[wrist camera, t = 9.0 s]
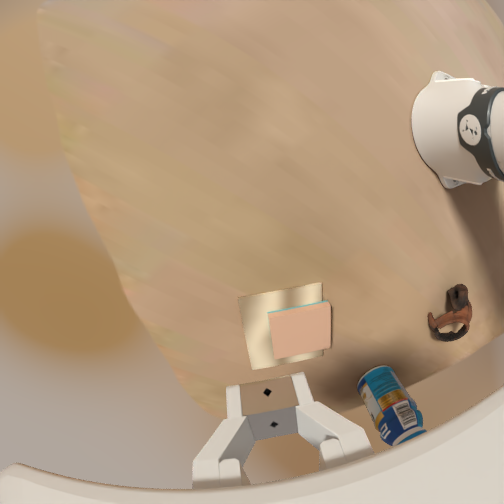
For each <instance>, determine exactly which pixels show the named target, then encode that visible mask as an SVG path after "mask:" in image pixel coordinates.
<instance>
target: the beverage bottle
mask: <svg viewBox="0 0 504 504" xmlns="http://www.w3.org/2000/svg"><path fill="white" fill-rule="evenodd" d="M357 389H358V392H359V394H360V395H361V397H362V399H363V401H364V403H365V406H366V408H367V410H368V412H369V414H370V416H371V418H372V420H373V422H374V426H375V428H376V429H377V430H378V431H379V432H380V436H381V438H382V440H383V441H384V442H385V443H387V444H389V445H391V446H393V447H394V446H396V445H398V444H401V443H403V442H405V441H408V440H410V439H412V438H414V437H416V436H418V435H420V434H422V433H425V432H427V431H426V430H425V429H422V426H423V418H422V414H421V412H420V411H419V410H417V405H416V403H415V401H414V400H413V399H412V398H411V397H410V396H409V394H408V393H407V391H406V390H405V388H404V387H403V385H402V384H401V382H400V381H399V379H398V378H397V376H396V374H395V372H394V371H393V369H392V368H391V367H389V366H386V365H382V366H378V367H375V368H373V369H371V370H369V371H368V372H366V373H365V374H364V375H363V376H362V377H361V379H360V380H359V382H358V385H357Z"/></svg>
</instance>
